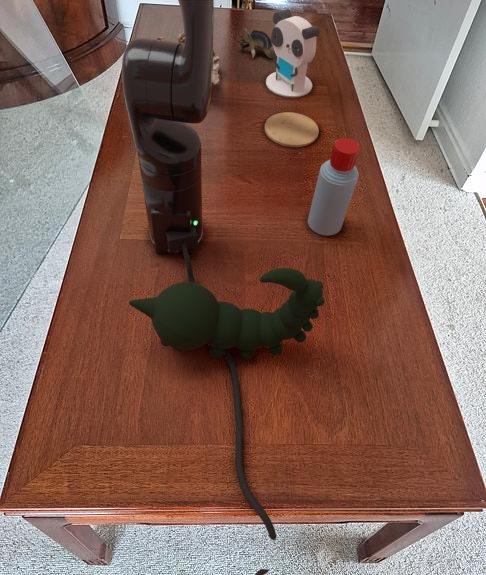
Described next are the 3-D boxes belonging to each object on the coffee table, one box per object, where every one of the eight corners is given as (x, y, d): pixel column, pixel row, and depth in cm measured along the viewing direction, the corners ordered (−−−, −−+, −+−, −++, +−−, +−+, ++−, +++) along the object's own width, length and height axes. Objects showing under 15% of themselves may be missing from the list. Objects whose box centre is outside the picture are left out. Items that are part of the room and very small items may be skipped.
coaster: (320, 149, 99) (321, 146, 98) (264, 145, 98) (265, 143, 98) (316, 116, 106) (316, 113, 105) (264, 112, 105) (264, 110, 105)
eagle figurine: (236, 57, 117) (271, 55, 115) (236, 25, 115) (272, 23, 113) (243, 60, 124) (276, 59, 122) (242, 30, 122) (276, 29, 120)
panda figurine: (255, 78, 114) (260, 13, 102) (289, 66, 118) (298, 2, 106) (286, 102, 108) (296, 36, 96) (321, 88, 113) (334, 24, 101)
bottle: (343, 236, 84) (369, 162, 70) (308, 234, 84) (328, 160, 70) (339, 211, 88) (363, 137, 74) (306, 209, 87) (324, 134, 74)
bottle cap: (355, 172, 74) (361, 154, 71) (330, 171, 73) (335, 153, 71) (352, 157, 76) (358, 138, 73) (328, 155, 76) (333, 137, 73)
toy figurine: (293, 324, 74) (136, 306, 71) (329, 247, 59) (131, 222, 56) (295, 378, 68) (125, 361, 66) (335, 309, 53) (116, 283, 51)
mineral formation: (217, 107, 103) (230, 62, 98) (145, 83, 99) (155, 34, 94) (212, 85, 122) (224, 46, 116) (152, 64, 117) (161, 22, 112)
